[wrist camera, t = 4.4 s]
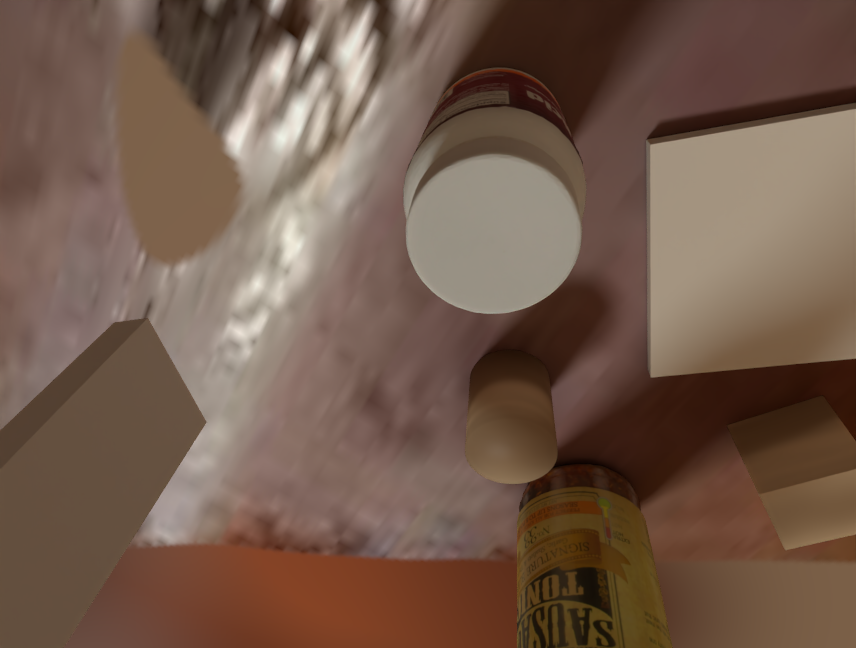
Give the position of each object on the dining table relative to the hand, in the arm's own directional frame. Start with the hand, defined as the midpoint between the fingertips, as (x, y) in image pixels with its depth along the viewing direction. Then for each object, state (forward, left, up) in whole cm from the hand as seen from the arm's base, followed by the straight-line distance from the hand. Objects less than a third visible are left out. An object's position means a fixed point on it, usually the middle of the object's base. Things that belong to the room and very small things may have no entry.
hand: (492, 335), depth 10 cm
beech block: (+16, +11, -12) cm, 22 cm away
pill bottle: (0, 0, -12) cm, 12 cm away
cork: (+11, -1, -12) cm, 16 cm away
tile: (+6, +10, -12) cm, 16 cm away
